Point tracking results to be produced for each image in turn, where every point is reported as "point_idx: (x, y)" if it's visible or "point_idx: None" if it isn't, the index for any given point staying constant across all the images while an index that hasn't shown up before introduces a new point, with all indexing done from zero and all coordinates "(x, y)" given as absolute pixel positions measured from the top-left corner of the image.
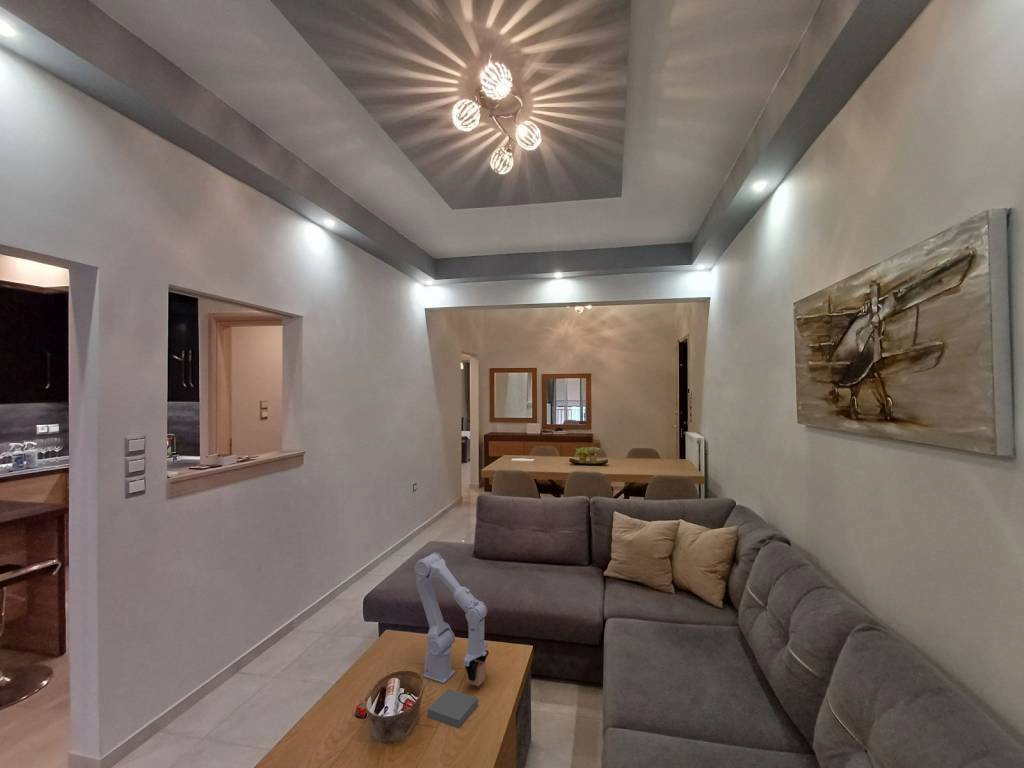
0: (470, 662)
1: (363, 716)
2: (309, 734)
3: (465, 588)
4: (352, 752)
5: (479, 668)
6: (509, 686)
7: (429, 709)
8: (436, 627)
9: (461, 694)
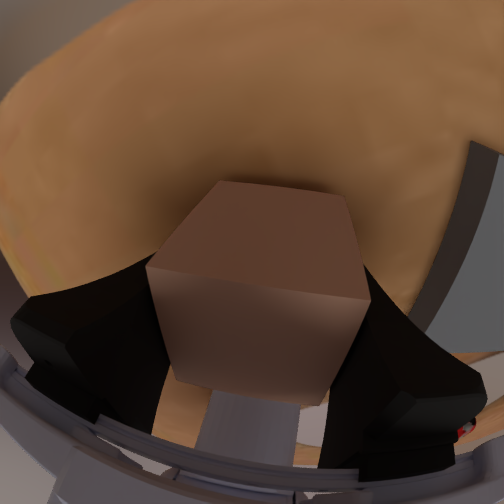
0: (450, 463)
1: (475, 420)
2: (487, 431)
3: None
4: None
5: (341, 295)
6: (178, 3)
7: None
8: None
9: (466, 276)
